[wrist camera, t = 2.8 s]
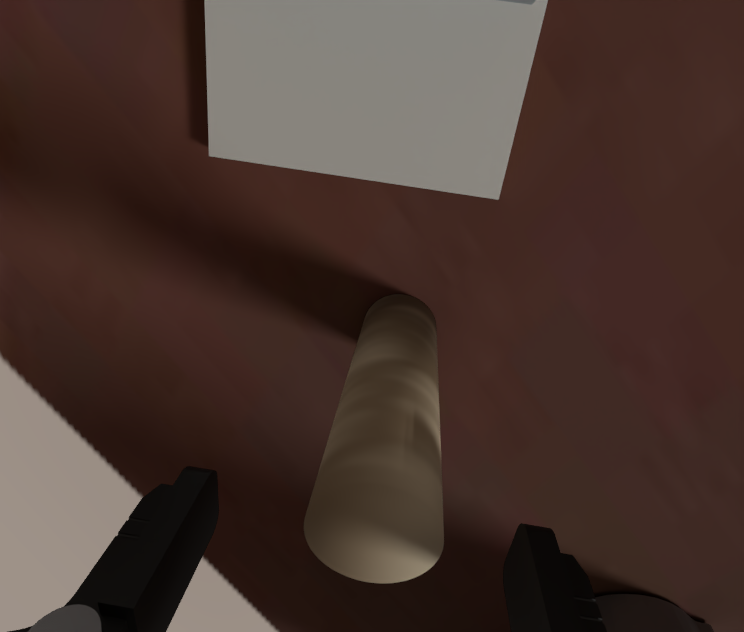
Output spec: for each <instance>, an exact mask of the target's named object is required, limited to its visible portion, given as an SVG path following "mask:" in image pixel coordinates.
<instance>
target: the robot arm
mask: <svg viewBox="0 0 744 632" xmlns="http://www.w3.org/2000/svg"><path fill="white" fill-rule="evenodd" d="M218 513H219V504H218V482H217V472H216V471H214V470H208V469H202V468H197V467H191V466H187V467H186V468H184V470H183V471H182V472H181V474H180V475H179V477H178V478H177V480H176V481H175V483H174V485H173V486H172V485H166V484H160V485H159V486H158V487H156V488H155V489H154V490H152V491H151V492H150V493H148V494H147V495H146V496H145V497H143V498H142V499H141V501H140V502H139V504H138V505H137V507H136V508H135V509H134V511H133V512H132V514H131V515H130V516H129V520H128V521H126V522H125V524H124V525H123V526H122V528H121V529H120V531H119V532H118V536H116V537H115V538H114V539H113V541H112V542H111V544H110V545H109V546H108V548H107V549H106V551H105V552H104V553H103V555H102V556H101V558H100V559H99V560H98V562H97V563H96V565H95V566H94V568H93V569H92V570H91V572H90V574H89V575H88V576H87V578H86V579H85V580H84V582H83V583H82V585H81V586H80V588H79V589H78V590H77V592H76V593H75V594H74V596H73V597H72V598H71V600H70V601H69V602H68V603H67V604H66V605H65V606H64V607H62V608H59V609H57V610H55V611H52V612H51V613H49V614H48V615H46V616H44V617H43V618H42V619H40V620H39V621H38V622H37V623H35V625H33V626H31V627H28V628H25V629H20V630H16V631H9V632H166V630H167V628H168V626H169V624H170V622H171V620H172V618H173V616H174V614H175V612H176V610H177V608H178V605H179V603H180V601H181V599H182V597H183V595H184V593H185V591H186V589H187V587H188V585H189V583H190V581H191V579H192V576H193V574H194V572H195V570H196V568H197V566H198V564H199V562H200V560H201V558H202V556H203V554H204V552H205V550H206V548H207V545H208V543H209V541H210V539H211V537H212V535H213V533H214V530H215V527H216V524H217V519H218ZM503 584H504V591H505V597H506V603H507V609H508V615H509V621H510V627H511V632H714V631H713V629H712V627H711V625H709V624H706V623H700V622H697V621H695V620H693V619H692V618H691V617H690V616H689V615H687V614H686V613H685V612H684V611H683V610H682V609H680V608H679V607H677V606H675V605H673V604H672V603H669V602H667V601H664V600H661V599H658V598H655V597H650V596H645V595H637V594H613V595H604V596H599V597H595V596H594V593H593V590H592V587H591V584H590V581H589V578H588V576H587V575H586V573H585V572H584V570H583V569H582V568H581V566H580V565H579V563H578V562H577V561H576V559H575V558H574V557H573V555H569V554H563V553H560V550H559V547H558V543H557V540H556V537H555V534H554V532H553V530H552V529H550V528H545V527H540V526H534V525H528V524H520V525H519V526H518V528H517V531H516V534H515V536H514V539H513V541H512V544H511V547H510V549H509V552H508V554H507V557H506V560H505V563H504V570H503Z"/></svg>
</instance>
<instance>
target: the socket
mask: <svg viewBox="0 0 744 632" xmlns="http://www.w3.org/2000/svg"><path fill="white" fill-rule="evenodd" d="M547 2H548V0H205V35H206V69H207V104H208V138H209V156H212V157H219V158H225V159H232V160H239V161H245V162H252V163H259V164H265V165H272V166H279V167H285V168H292V169H298V170H305V171H312V172H318V173H325V174H332V175H338V176H345V177H351V178H358V179H365V180H371V181H378V182H385V183H391V184H398V185H405V186H411V187H418V188H424V189H431V190H438V191H444V192H451V193H458V194H464V195H471V196H477V197H484V198H491V199H497V200H499V196H500V192H501V188H502V184H503V180H504V176H505V172H506V167H507V163H508V159H509V155H510V151H511V147H512V143H513V139H514V135H515V131H516V127H517V123H518V119H519V115H520V111H521V107H522V103H523V99H524V95H525V91H526V87H527V83H528V79H529V74H530V70H531V66H532V62H533V58H534V54H535V50H536V46H537V42H538V38H539V34H540V30H541V26H542V22H543V18H544V14H545V10H546V6H547Z"/></svg>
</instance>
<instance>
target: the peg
mask: <svg viewBox="0 0 744 632" xmlns="http://www.w3.org/2000/svg"><path fill="white" fill-rule="evenodd" d="M304 534H305V538H306V541H307V543H308V545H309V547H310V549H311V550H312V552H313V553H314V554H315V555H316V556H317V557H318V559H319V560H320V561H322V562H323V563H324V564H325V565H327V566H328V567H329V568H331V569H332V570H334V571H336V572H338V573H340V574H342V575H344V576H347V577H349V578H352V579H355V580H360V581H364V582H370V583H397V582H402V581H407V580H410V579H413V578H415V577H417V576H420V575H421V574H423V573H425V572H426V571H428V570H429V569H430V568H431V567H433V565H434V564H435V563H436V562H437V561H438V559H439V557H440V556H441V553H442V551H443V546H444V524H443V497H442V470H441V443H440V416H439V388H438V361H437V334H436V321H435V318H434V315H433V313H432V312H431V310H430V309H429V307H428V306H427V305H426V304H425V303H423V302H422V301H420V300H419V299H417V298H415V297H412V296H409V295H403V294H394V295H389V296H386V297H383V298H381V299H379V300H378V301H376V302H375V303H374V304H373V305H372V306H371V307H370V308H369V310H368V311H367V313H366V316H365V319H364V322H363V325H362V329H361V332H360V335H359V339H358V342H357V345H356V349H355V352H354V355H353V359H352V362H351V365H350V369H349V372H348V375H347V379H346V382H345V385H344V389H343V392H342V395H341V399H340V402H339V405H338V409H337V412H336V415H335V419H334V422H333V425H332V429H331V432H330V435H329V439H328V442H327V445H326V449H325V452H324V455H323V459H322V462H321V465H320V469H319V472H318V475H317V479H316V482H315V485H314V489H313V492H312V495H311V499H310V502H309V505H308V509H307V512H306V515H305V519H304Z"/></svg>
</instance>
